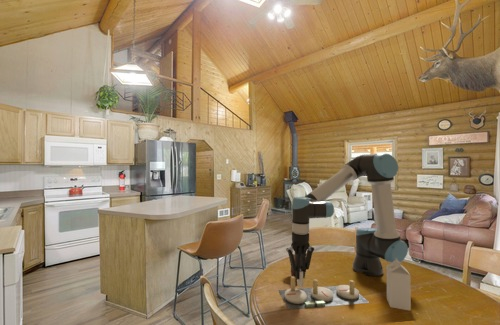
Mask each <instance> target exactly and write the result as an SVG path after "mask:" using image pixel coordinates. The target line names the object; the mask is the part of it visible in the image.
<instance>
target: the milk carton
mask: <svg viewBox="0 0 500 325" xmlns="http://www.w3.org/2000/svg"><path fill="white" fill-rule="evenodd" d="M411 277H412V276H411V273H409V271H408V270H407V268H406V267H404V266H403V265H402V264H401V262H399V261H398V259H397V258H396V260H395V261H393V262H389V264H387V265H386V300H387V303H388V305H389V307H390V308H391V309H394V308H395V309H399V310H404V311H408V312H409V311H411V307H412V306H411V303H412V302H411V299H412V298H411V297H412V296H411V295H412V294H411V293H412V292H411V284H412V283H411Z"/></svg>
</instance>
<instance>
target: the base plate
mask: <svg viewBox="0 0 500 325" xmlns="http://www.w3.org/2000/svg"><path fill="white" fill-rule="evenodd" d="M347 285H348V286H349V284H347ZM337 286H338V285H334V286H333V285H332V286H324V287H325V288H328V289H330V290H331V291H332V292H333V299H332V300H331V301H328V302H324V301H318V300H316V299H314V298H313V297H312V296H311V289H312V288H313V287H306V288H305V287H301V288H299V289H300V290H302V291H304V292H305V293H306V295H307V300H306V302H304V303H302V304H294V303H290V302H288V301H287V300H286V299H285V291H286V290H287V289H278V292H279V295H280V296H281V298H282V300H283V302H284V305H286V308H287V310H289V311H291V310H292V311H293V310H301V309H313V308H324V307H340V306H348V305H350V306H351V305H359V304H361V305H362V304H369V303H370V302H369V300H368V299H366V298H365V297H364V296H363V295H362V294H360V293H359V297H358V298H357V299H346V298H343V297H341V296H339V295H338V294H337V292H336V288H337Z"/></svg>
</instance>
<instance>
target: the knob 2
mask: <svg viewBox="0 0 500 325" xmlns="http://www.w3.org/2000/svg"><path fill="white" fill-rule="evenodd" d="M348 285H349V286H348ZM336 286H337V288H336V292H337V294H338V295H339V296H341V297H343V298H346V299H357V298H358V297H359V294H360V291H359V289H357V288H356V287H355V280H353V279H349V284H340V285H336Z"/></svg>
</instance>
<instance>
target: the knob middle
mask: <svg viewBox="0 0 500 325" xmlns="http://www.w3.org/2000/svg"><path fill="white" fill-rule="evenodd" d="M318 282H319V280H318V279H316V278H315V279H312V287H311V288H312V289H311V296H312V297H313V298H314V299H316V300H318V301H324V302H328V301H331V300H332V299H333V292H332V291H331V290H330V289H328V288H325V287H326V286H319V285H318V284H319V283H318Z"/></svg>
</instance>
